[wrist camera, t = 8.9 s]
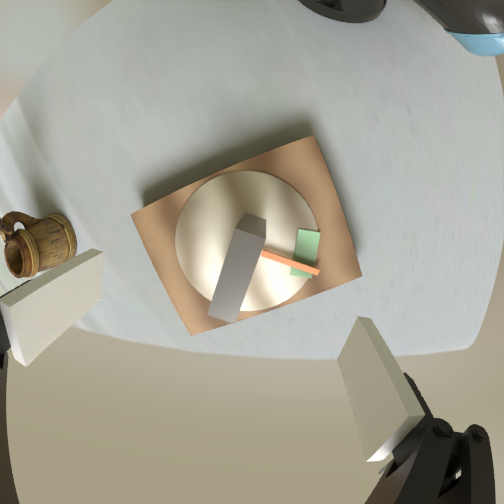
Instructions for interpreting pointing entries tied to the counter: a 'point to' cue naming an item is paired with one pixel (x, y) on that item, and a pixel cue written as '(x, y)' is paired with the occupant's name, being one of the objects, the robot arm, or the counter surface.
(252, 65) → the counter surface
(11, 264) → the wooden mug
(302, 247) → the board
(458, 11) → the robot arm
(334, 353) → the counter surface
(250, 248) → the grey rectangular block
